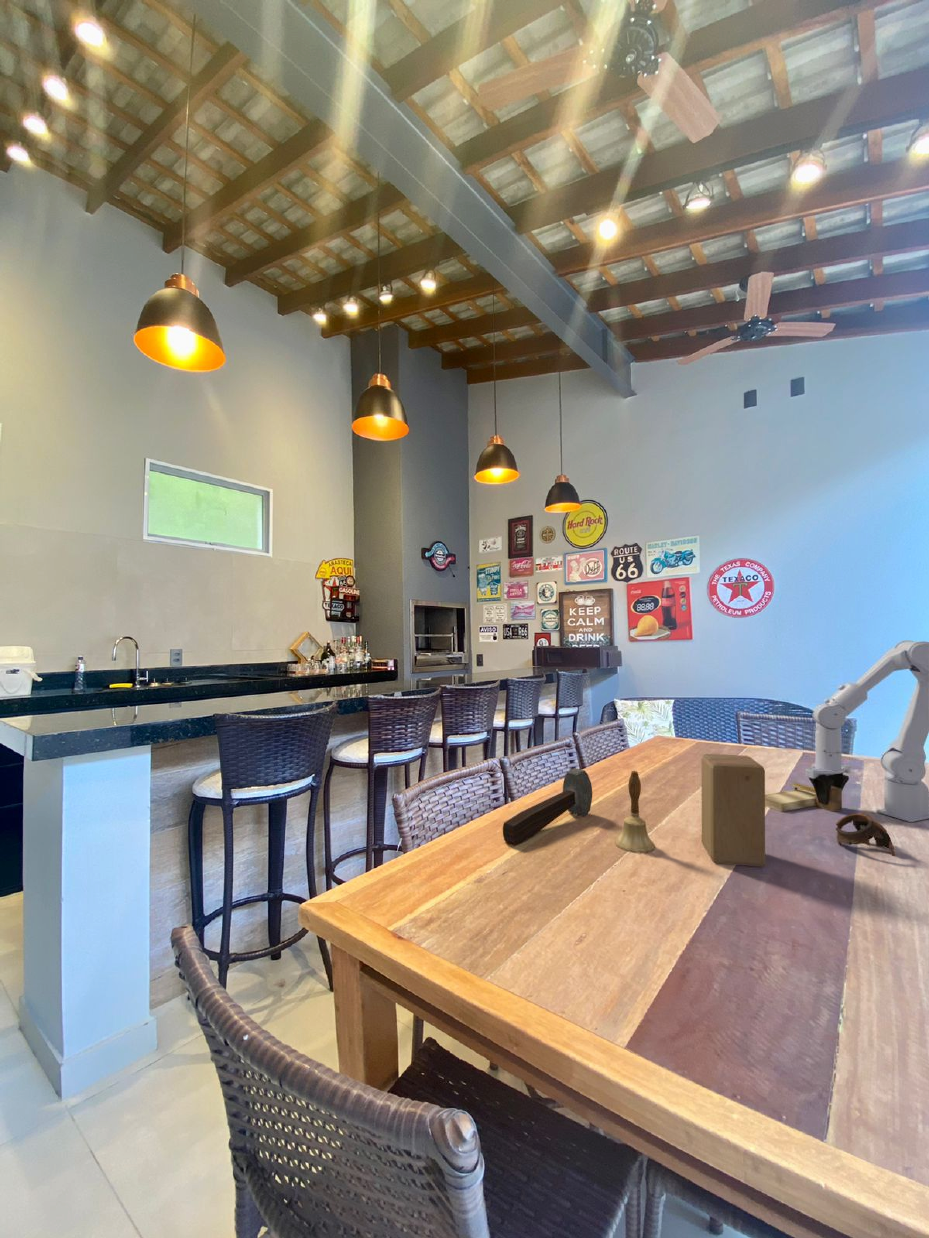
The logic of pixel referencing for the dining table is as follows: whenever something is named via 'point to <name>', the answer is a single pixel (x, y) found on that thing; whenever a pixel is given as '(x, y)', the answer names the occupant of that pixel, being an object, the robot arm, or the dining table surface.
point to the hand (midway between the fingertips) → (828, 802)
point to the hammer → (551, 808)
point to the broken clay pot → (863, 832)
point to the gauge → (834, 797)
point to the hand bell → (634, 823)
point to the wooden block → (733, 809)
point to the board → (790, 800)
